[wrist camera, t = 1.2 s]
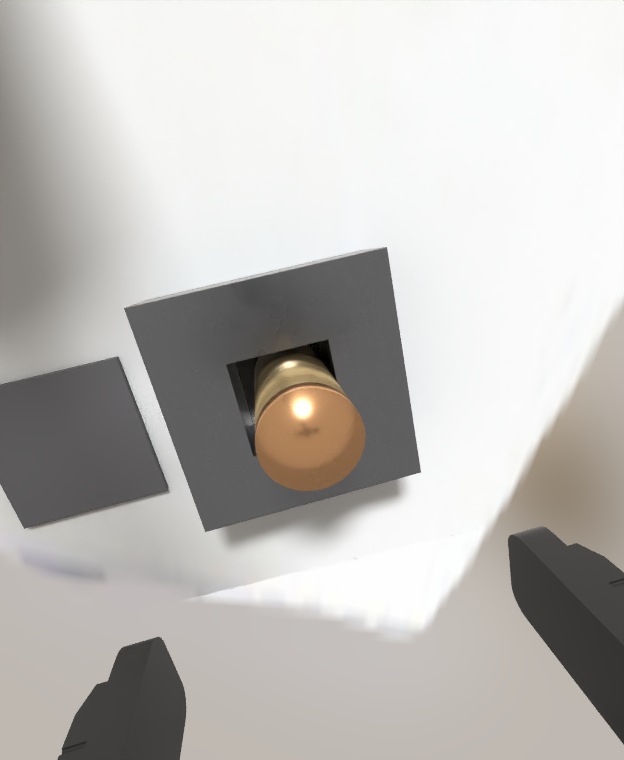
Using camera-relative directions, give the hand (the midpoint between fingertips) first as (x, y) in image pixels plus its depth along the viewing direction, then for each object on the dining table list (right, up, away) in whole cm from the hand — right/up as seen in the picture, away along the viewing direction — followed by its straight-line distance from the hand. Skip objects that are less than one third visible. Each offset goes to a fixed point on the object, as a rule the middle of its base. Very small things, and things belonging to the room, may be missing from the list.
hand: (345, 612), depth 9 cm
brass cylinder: (-2, +6, +19) cm, 20 cm away
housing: (-3, +5, +19) cm, 20 cm away
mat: (-17, +1, +18) cm, 25 cm away
